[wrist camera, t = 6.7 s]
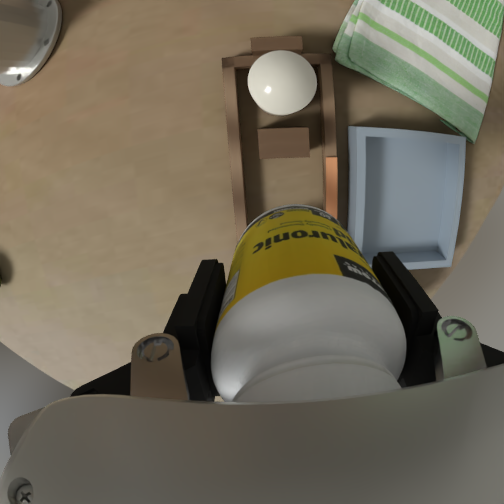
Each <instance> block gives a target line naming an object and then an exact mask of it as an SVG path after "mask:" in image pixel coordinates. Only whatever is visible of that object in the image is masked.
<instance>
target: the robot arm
mask: <svg viewBox="0 0 504 504" xmlns="http://www.w3.org/2000/svg"><path fill="white" fill-rule="evenodd" d="M61 22H62V10H61V6H60V3H59V2H58V0H0V84H2V85H4V86H17V85H21V84H23V83H25V82H26V81H28V80H29V79H31V78H32V77H33V76H34V75H35V74H36V73H37V72H38V71H39V70H40V68H41V67H42V66H43V65H44V63H45V62H46V60H47V59H48V57H49V56H50V54H51V52H52V50H53V48H54V46H55V43H56V41H57V38H58V36H59V32H60V28H61ZM372 271H373V272H374V274H375V276H376V277H377V279H378V280H379V282H380V284H381V285H382V287H383V289H384V290H385V292H386V294H387V296H388V297H389V299H390V300H391V302H392V304H393V306H394V308H395V310H396V312H397V314H398V316H399V318H400V320H401V323H402V325H403V328H404V332H405V337H406V358H405V363H404V366H403V369H402V372H401V374H400V376H399V378H398V380H397V382H398V383H399V385H400V386H401V388H400V389H394V390H388V391H382V392H375V393H368V394H361V395H353V396H345V397H335V398H325V399H313V400H298V401H276V402H214V399H215V396H220V394H219V393H218V391H217V388H216V386H215V384H214V381H213V377H212V372H211V351H212V344H213V338H214V334H215V330H216V325H217V322H218V317H219V313H220V309H221V305H222V301H223V297H224V293H225V288H226V280H225V272H224V265H223V263H218V260H217V259H212V260H202V261H201V263H200V266H199V268H198V270H197V273H196V275H195V277H194V280H193V282H192V284H191V287H190V289H189V292H188V294H181V295H180V296H179V298H178V300H177V302H176V305H175V307H174V309H173V311H172V314H171V316H170V318H169V320H168V323H167V325H166V327H165V330H164V332H163V333H155V334H151V335H148V336H146V337H143V338H141V339H140V340H139V341H138V342H136V344H135V345H134V347H133V349H132V356H131V362H130V363H128V364H126V365H124V366H122V367H120V368H118V369H116V370H114V371H112V372H110V373H108V374H105V375H103V376H101V377H99V378H97V379H95V380H93V381H91V382H89V383H87V384H84V385H82V386H81V387H79V388H77V389H76V390H75V391H74V392H73V393H72V394H71V396H70V397H68V398H64V399H60V400H57V401H54V402H53V403H50V404H49V405H47V406H46V407H44V408H41V409H38V410H36V411H33V412H30V413H28V414H25V415H22V416H20V417H18V418H16V419H15V420H14V421H13V422H12V423H11V424H10V426H9V429H8V439H9V446H10V453H11V457H10V458H9V460H8V462H7V464H6V466H5V468H4V470H3V473H2V475H1V477H0V504H504V352H502V351H499V350H497V349H494V348H492V347H489V346H487V345H484V344H481V343H480V342H479V338H478V335H477V332H476V329H475V327H474V326H473V325H472V324H471V323H470V322H469V321H467V320H466V319H463V318H460V317H456V316H447V317H444V318H442V317H441V316H440V314H439V313H438V309H437V308H436V306H435V305H434V304H433V302H432V301H431V299H430V298H429V297H428V295H427V294H426V293H425V291H424V290H423V289H422V287H421V286H420V285H419V283H418V282H417V281H416V280H415V278H414V277H413V276H412V274H411V273H410V272H409V271H408V269H407V268H406V267H405V266H404V264H403V263H402V262H401V261H400V259H399V258H398V257H397V256H396V255H395V253H394V252H393V251H389V252H378V254H377V256H374V257H373V260H372Z"/></svg>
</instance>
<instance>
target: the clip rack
mask: <svg viewBox="0 0 504 504" xmlns="http://www.w3.org/2000/svg"><path fill="white" fill-rule="evenodd" d="M251 49H252V54H253V55H248V56H237V57H227V58H222V69H223V82H224V95H225V108H226V120H227V132H228V144H229V156H230V168H231V179H232V191H233V202H234V213H235V224H236V234H237V244H238V242H239V240H240V237H241V236H242V234H243V232H244V231H245V229H246V228H247V227H248V218H247V206H246V193H245V180H244V167H243V154H242V141H241V128H240V115H239V102H238V89H237V76H236V70H243V69H251V67H252V65H253V64H254V62H255V61H256V60H257V59H258V58H260V57H261V56H262V55H264V54H266V53H269V52H272V51H278V50H285V51H290V52H294V53H296V54H298V55H300V56H302V57H303V58H304V59H306V60H307V61H308V62H309V63H310V65H311V66H312V67H318V77H319V91H320V107H321V126H322V153H323V211H325V212H327V213H329V214H330V215H332V216H333V217H334V218H336V219H337V153H336V122H335V102H334V86H333V73H332V61H331V54H311V53H302V50H303V44H302V36H277V37H257V38H251ZM258 143H259V158H260V159H269V158H295V157H310V148H309V128H308V127H282V128H261V129H258Z"/></svg>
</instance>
